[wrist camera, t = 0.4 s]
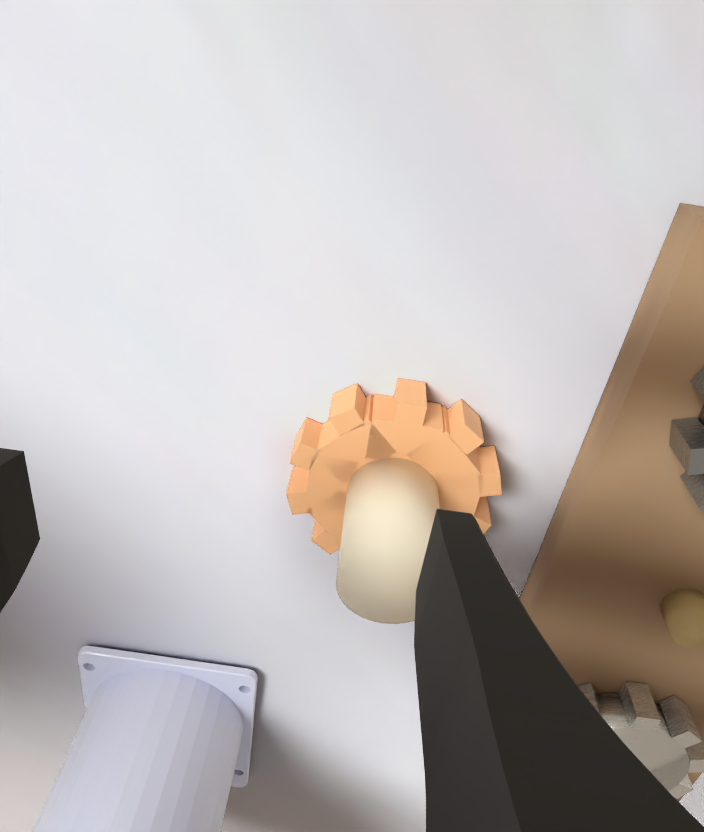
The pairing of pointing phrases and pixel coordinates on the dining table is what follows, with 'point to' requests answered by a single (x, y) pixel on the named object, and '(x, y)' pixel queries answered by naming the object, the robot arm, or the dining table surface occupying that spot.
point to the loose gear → (388, 488)
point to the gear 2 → (691, 447)
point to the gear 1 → (653, 732)
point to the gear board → (635, 506)
